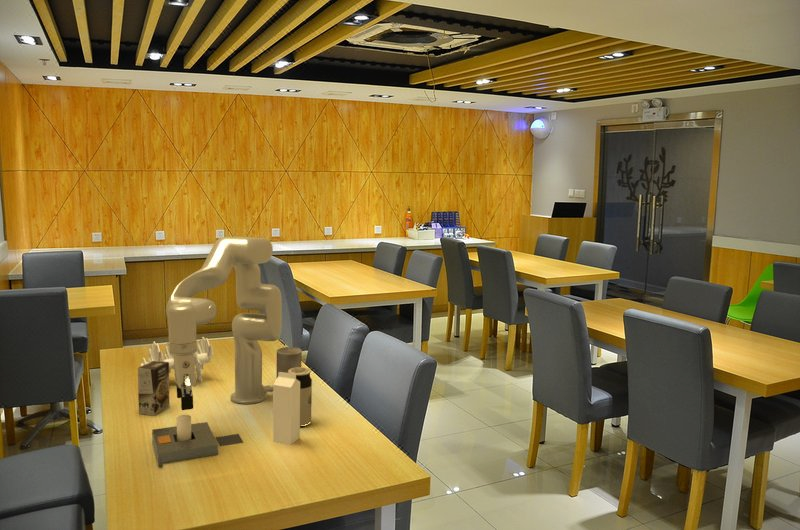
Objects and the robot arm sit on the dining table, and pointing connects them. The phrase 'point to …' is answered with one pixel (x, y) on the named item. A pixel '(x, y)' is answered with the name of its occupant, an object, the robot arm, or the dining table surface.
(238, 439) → the pad
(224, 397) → the dining table surface
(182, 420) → the peg
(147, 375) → the coffee box
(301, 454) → the dining table surface
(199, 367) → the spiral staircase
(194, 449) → the block
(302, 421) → the travel mug
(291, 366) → the pillar candle
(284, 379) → the milk
